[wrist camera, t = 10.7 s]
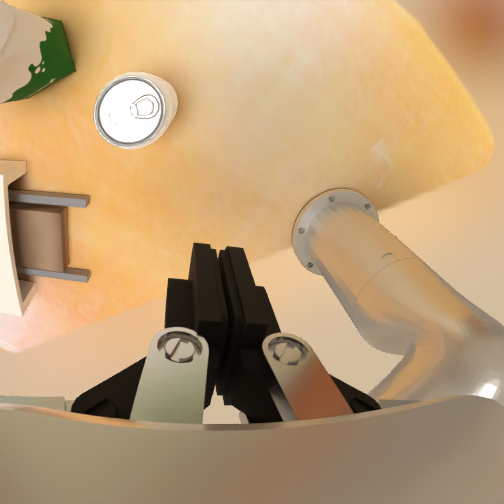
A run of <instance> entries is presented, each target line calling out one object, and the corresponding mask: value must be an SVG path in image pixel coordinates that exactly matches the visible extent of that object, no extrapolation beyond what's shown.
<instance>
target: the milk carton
mask: <svg viewBox="0 0 504 504" xmlns="http://www.w3.org/2000/svg"><path fill="white" fill-rule="evenodd" d="M75 71H76V69H75V66H74V63H73V60H72V56H71V53H70V50H69V46H68V43H67V39H66V36H65V32H64V28H63V25H62V21H60V20H55V19H50V18H45V17H41V16H38V15H35V14H33V13H30V12H27V11H25V10H22V9H19V8H16V7H14V6H11V5H8V4H7V3H5V2H4V1H3V0H0V103H5V102H11V101H17V100H23V99H28V98H29V97H31V96H33V95H34V94H36V93H38V92H39V91H41V90H43V89H44V88H46V87H48V86H49V85H51V84H53V83H55V82H56V81H58V80H60V79H62V78H64V77H65V76H67V75H69V74H71V73H73V72H75Z"/></svg>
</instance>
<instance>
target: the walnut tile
mask: <svg viewBox="0 0 504 504" xmlns="http://www.w3.org/2000/svg"><path fill="white" fill-rule="evenodd" d="M9 215H10V226H11V236H12V244H13V251H14V258H15V265H16V266H22V267H28V268H35V269H42V270H49V271H56V272H63V273H64V271H65V269H66V268H67V266H68V264H69V245H68V206H61V205H50V204H39V203H27V202H15V201H9Z"/></svg>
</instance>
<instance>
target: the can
mask: <svg viewBox="0 0 504 504" xmlns="http://www.w3.org/2000/svg"><path fill="white" fill-rule="evenodd" d="M177 108H178V98H177V95H176V92H175V90H174V88H173V87H172V86H171V84H169V83H168V82H167V81H166V80H164V79H162V78H160V77H157V76H155V75H152V74H149V73H145V72H129V73H125V74H122V75H119V76H117V77H116V78H114V79H113V80H111V81H110V82H109V83H108V84H107V85H106V86H105V87H104V88H103V89H102V91H101V92H100V94H99V96H98V98H97V100H96V103H95V107H94V122H95V125H96V128H97V130H98V132H99V134H100V135H101V136H102V137H103V138H104V139H105V140H106V141H107V142H109V143H110V144H112V145H114V146H116V147H119V148H123V149H139V148H142V147H145V146H148V145H150V144H152V143H153V142H155V141H156V140H157V139H158V138H160V137H161V136H162V135H163V133H164V132H165V131H166V129H167V128H168V127H169V125H170V123H171V122H172V120H173V119H174V117H175V115H176V112H177Z"/></svg>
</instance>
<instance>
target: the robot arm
mask: <svg viewBox="0 0 504 504" xmlns="http://www.w3.org/2000/svg"><path fill="white" fill-rule="evenodd" d="M330 196H331V197H330ZM329 197H330V198H329ZM299 228H301V229H299ZM292 244H293V249H294V252H295V254H296V256H297V258H298V260H299V261H300V263H301V264H302V265H303V266H304V267H305V268H306V269H307V270H309V271H311V272H313V273H315V274H318V275H323V276H324V278H325V280H326V281H327V283H328V284H329V286H330V287H331V289H332V290H333V292H334V293H335V295H336V296H337V298H338V299H339V301H340V303H341V304H342V306H343V307H344V309H345V311H346V312H347V313H348V315H349V317H350V318H351V320H352V322H353V323H354V325H355V326H356V328H357V330H358V331H359V333H360V334H361V336H362V337H363V338H364V340H365V341H367V343H368V344H370V345H371V346H373V347H374V348H376V349H378V350H380V351H383V352H386V353H391V354H396V355H404V357H403V359H402V360H401V361H400V362H399V363H398V365H397V366H396V367H395V368H394V369H393V370H392V371H391V373H390V374H389V375H387V376H386V377H385V378H384V379H383V380H382V381H381V382H380V383H379V384H378V385H377V386H376V387H374V388H373V389H372V390H371V391H370V392H369V393H368V394H365V393H363V392H361V391H359V390H357V389H355V388H354V387H351V386H350V385H348V384H346V383H344V382H343V381H341V380H339V379H337V378H335V377H333V376H332V375H330V374H328V372H327V371H326V369H325V368H324V366H323V365H322V363H321V361H320V360H319V358H318V357H317V355H316V354H315V352H314V351H313V349H312V348H311V346H310V345H309V344H308V343H307V342H306V341H304V340H303V339H302V338H300V337H297V336H295V335H293V334H288V333H281V331H280V328H279V325H278V322H277V320H276V317H275V314H274V312H273V309H272V306H271V303H270V301H269V298H268V295H267V293H266V290H265V288H264V287H262V286H256V285H255V282H254V279H253V276H252V274H251V270H250V267H249V264H248V261H247V258H246V255H245V252H244V249H243V248H238V247H229V246H227V247H226V249H225V250H220V252H219V256H218V258H217V253H216V249H211V247H210V244H202V243H194V244H193V249H192V256H191V263H190V270H189V278H188V280H184V279H174V278H168V286H167V297H166V311H165V329H164V330H161V331H159V332H158V333H157V334H156V335H155V336H154V337H153V339H152V341H151V344H150V348H149V351H148V354H147V356H146V357H144V358H143V359H141V360H139V361H138V362H136V363H134V364H133V365H131V366H129V367H128V368H126V369H124V370H122V371H121V372H119V373H117V374H116V375H114V376H112V377H111V378H109V379H107V380H105V381H103V382H102V383H100V384H98V385H97V386H95V387H93V388H91V389H89V390H88V391H86V392H84V393H83V394H81V395H80V396H79V397H77V398H76V400H69V401H65V399H64V397H20V396H0V504H504V326H503V325H502V324H501V323H500V322H498V321H497V320H495V319H494V318H493V317H491V316H490V315H488V314H487V313H485V312H484V311H483V310H481V309H480V308H478V307H477V306H476V305H474V304H473V303H471V302H470V301H469V300H467V299H466V298H465V297H464V296H462V295H461V294H460V293H458V292H457V291H456V290H455V289H454V288H452V287H451V286H450V285H449V284H448V283H447V282H446V281H445V280H443V279H442V278H441V277H440V276H439V275H438V274H437V273H436V272H434V271H433V270H432V269H431V268H430V267H429V266H428V265H427V264H426V263H424V262H423V261H422V260H421V259H420V258H419V257H418V256H417V255H416V254H414V253H413V252H412V251H411V250H410V249H409V248H408V247H407V246H406V245H404V244H403V243H402V242H401V241H400V240H399V239H398V238H397V237H396V236H394V235H393V234H392V233H390V232H389V231H388V230H387V229H386V228H384V227H383V226H382V225H381V224H380V223H379V219H378V214H377V211H376V209H375V207H374V206H373V204H372V203H371V202H370V201H369V200H368V199H367V198H366V197H365V196H364V195H362V194H360V193H358V192H356V191H354V190H350V189H334V190H329V191H327V192H324V193H322V194H320V195H319V196H317V197H315V198H314V199H313V200H311V201H310V202H309V203H308V204H307V205H306V206H305V207H304V209H303V210H302V211H301V212H300V214H299V216H298V218H297V220H296V222H295V225H294V228H293V234H292ZM215 385H216V392H217V395H222V396H223V400H224V405H232V406H234V407H235V408H237V409H238V410H240V413H239V417H240V421H241V424H202V421H203V410H204V409H205V408H206V407H208V406H209V405H210V402H211V397H212V395H213V391H214V387H215Z"/></svg>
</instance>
